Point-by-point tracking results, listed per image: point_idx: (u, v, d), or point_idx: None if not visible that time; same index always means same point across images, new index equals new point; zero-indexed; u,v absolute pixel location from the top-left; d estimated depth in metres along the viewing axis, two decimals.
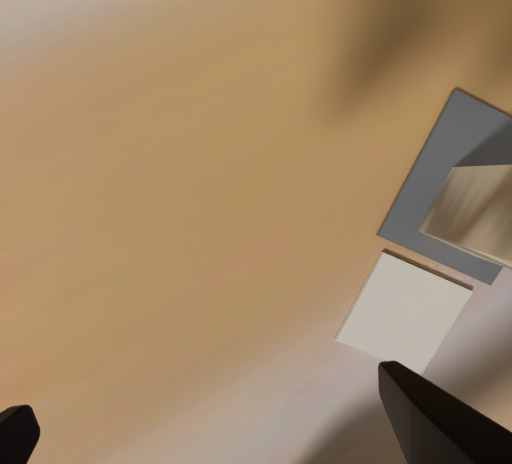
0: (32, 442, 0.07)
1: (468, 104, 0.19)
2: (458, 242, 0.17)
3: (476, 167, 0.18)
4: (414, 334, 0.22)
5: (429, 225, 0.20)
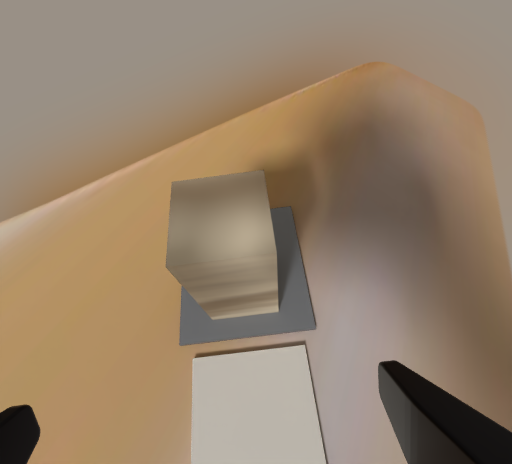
0: (32, 442, 0.07)
1: None
2: (198, 302, 0.17)
3: None
4: (281, 436, 0.17)
5: None
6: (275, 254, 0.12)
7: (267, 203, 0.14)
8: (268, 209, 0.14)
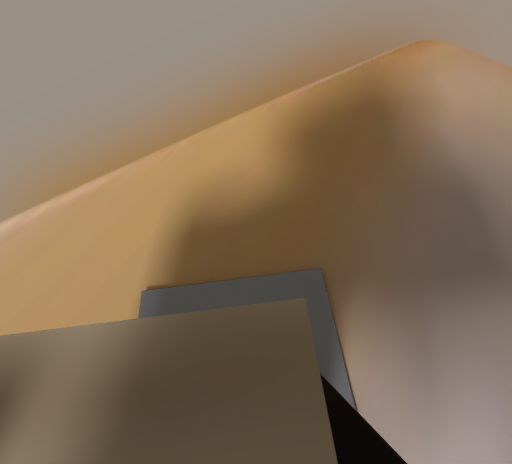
0: None
1: (165, 296, 0.15)
2: None
3: None
4: None
5: None
6: None
7: None
8: None
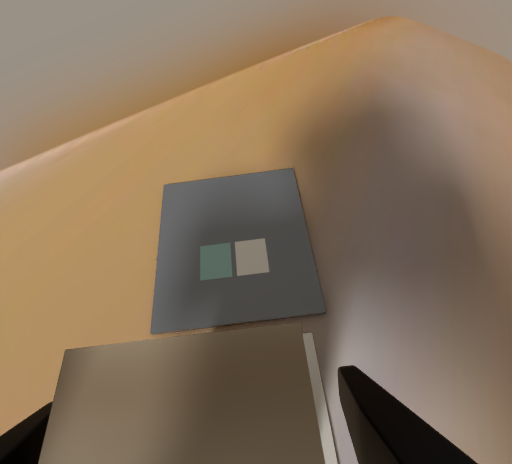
0: None
1: (180, 187, 0.21)
2: None
3: None
4: None
5: None
6: None
7: (319, 458, 0.05)
8: None
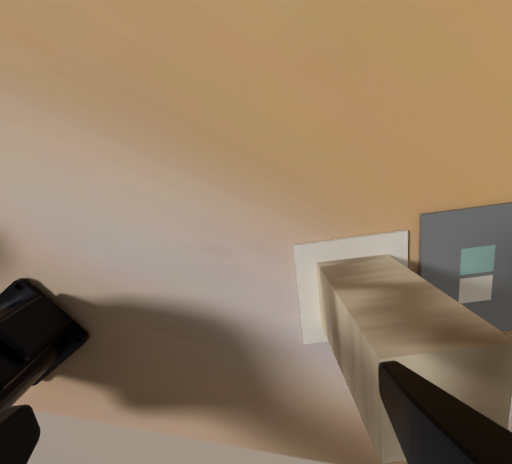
0: (32, 442, 0.07)
1: None
2: (334, 288, 0.16)
3: (402, 265, 0.18)
4: None
5: (328, 266, 0.19)
6: (379, 458, 0.11)
7: None
8: None
